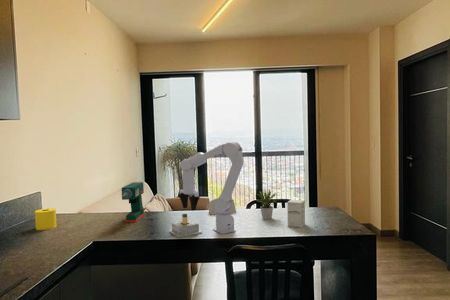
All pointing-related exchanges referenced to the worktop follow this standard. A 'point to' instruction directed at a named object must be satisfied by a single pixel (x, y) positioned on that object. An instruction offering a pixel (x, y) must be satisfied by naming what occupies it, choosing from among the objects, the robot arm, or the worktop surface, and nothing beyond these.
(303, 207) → the supplement box
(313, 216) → the worktop surface
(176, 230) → the chuck block
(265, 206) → the house plant
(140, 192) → the power tool
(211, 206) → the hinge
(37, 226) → the yellow holed block
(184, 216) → the brass cylinder rod
